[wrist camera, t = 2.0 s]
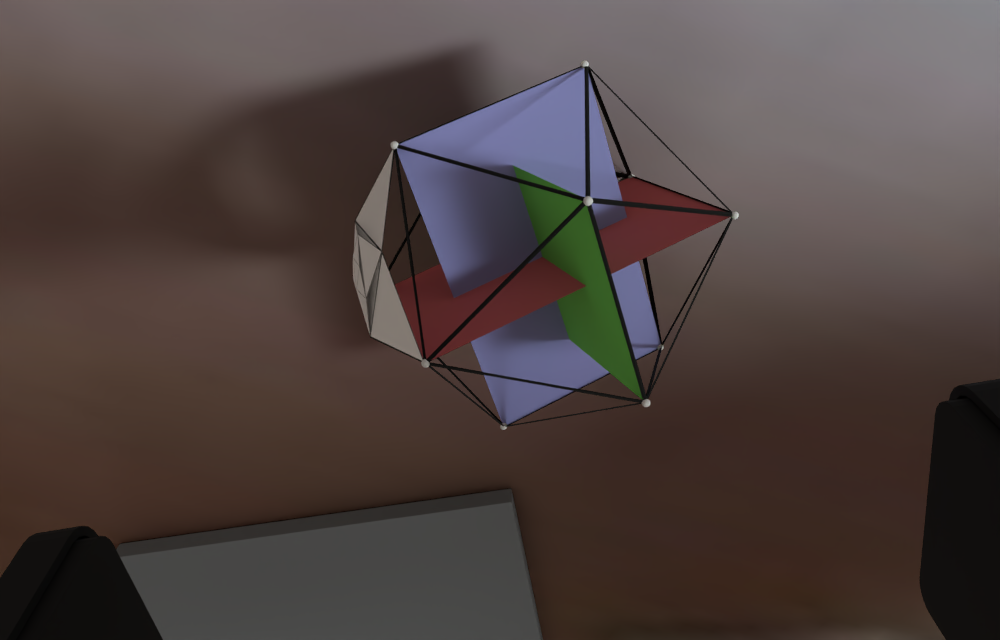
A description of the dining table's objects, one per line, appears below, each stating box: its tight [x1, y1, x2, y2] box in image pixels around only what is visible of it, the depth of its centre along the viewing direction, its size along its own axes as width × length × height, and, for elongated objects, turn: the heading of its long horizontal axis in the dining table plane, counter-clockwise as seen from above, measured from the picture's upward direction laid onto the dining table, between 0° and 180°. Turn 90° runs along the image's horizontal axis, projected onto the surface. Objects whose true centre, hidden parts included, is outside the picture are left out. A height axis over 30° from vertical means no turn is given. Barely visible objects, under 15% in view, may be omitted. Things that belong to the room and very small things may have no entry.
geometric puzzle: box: [353, 60, 739, 430], centre depth 17 cm, size 7×7×8 cm
